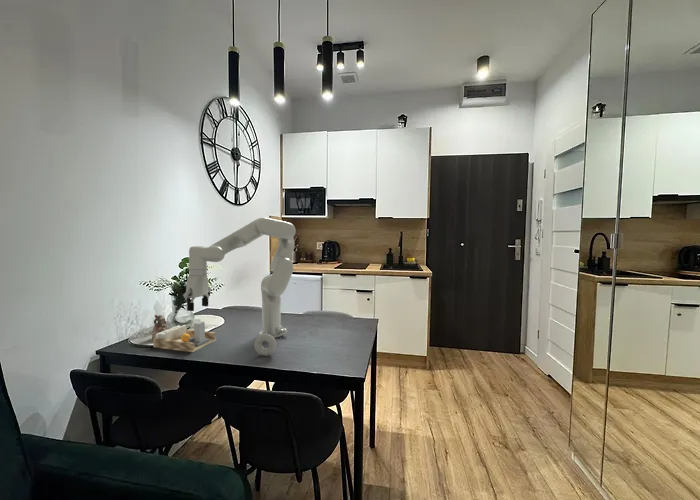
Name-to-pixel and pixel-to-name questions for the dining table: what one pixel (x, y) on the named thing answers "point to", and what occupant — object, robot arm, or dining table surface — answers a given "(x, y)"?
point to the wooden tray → (183, 346)
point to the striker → (199, 334)
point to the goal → (172, 332)
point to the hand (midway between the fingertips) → (198, 308)
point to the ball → (185, 337)
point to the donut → (261, 349)
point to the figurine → (159, 325)
